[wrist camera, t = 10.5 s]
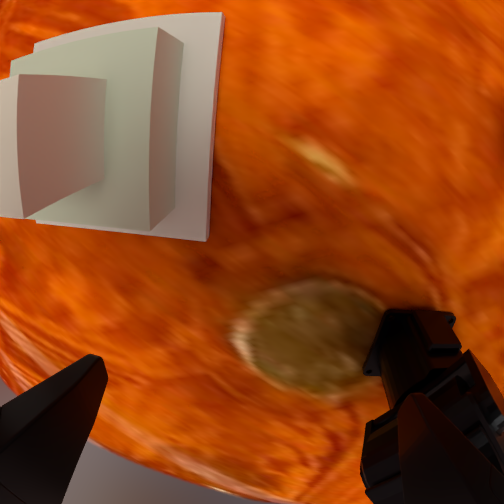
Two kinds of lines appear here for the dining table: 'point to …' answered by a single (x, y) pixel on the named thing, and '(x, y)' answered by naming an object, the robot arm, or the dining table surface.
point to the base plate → (179, 116)
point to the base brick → (123, 125)
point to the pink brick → (49, 139)
